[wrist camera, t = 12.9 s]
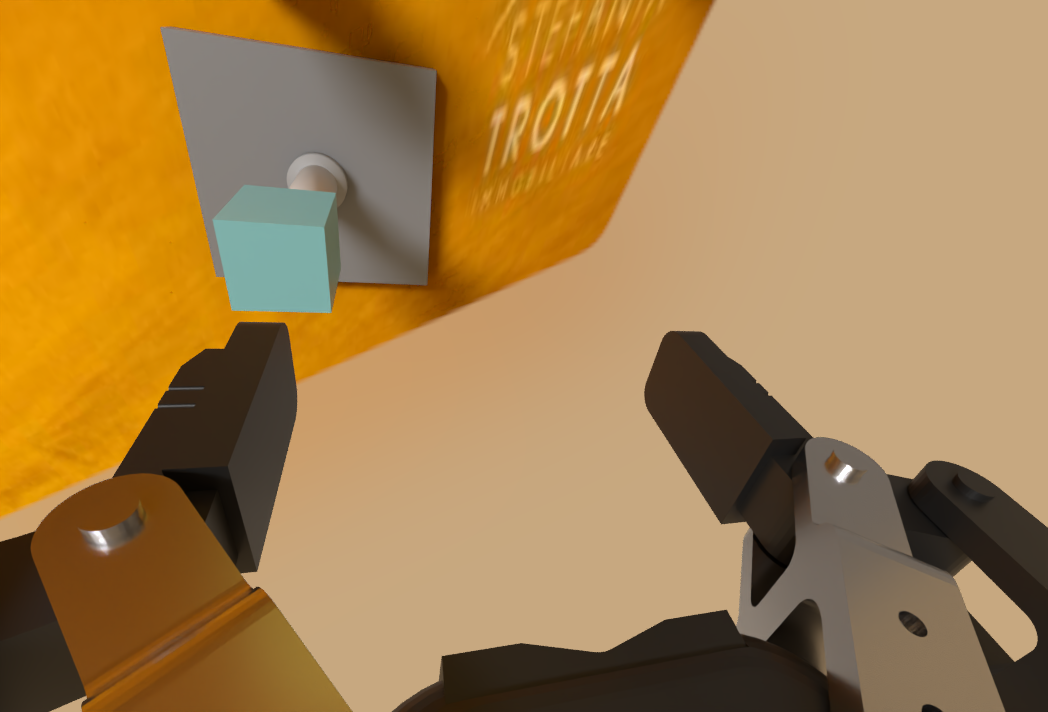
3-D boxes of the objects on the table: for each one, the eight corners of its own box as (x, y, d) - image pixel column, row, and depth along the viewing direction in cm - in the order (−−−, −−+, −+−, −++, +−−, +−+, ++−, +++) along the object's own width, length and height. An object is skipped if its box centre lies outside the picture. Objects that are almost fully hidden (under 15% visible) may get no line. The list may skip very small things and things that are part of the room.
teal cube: (244, 184, 27) (212, 219, 23) (336, 192, 29) (324, 227, 24) (257, 264, 30) (231, 310, 25) (341, 268, 32) (331, 312, 27)
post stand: (171, 26, 33) (-3, 32, 18) (434, 68, 37) (458, 99, 23) (223, 266, 43) (135, 392, 28) (426, 276, 47) (439, 387, 33)
